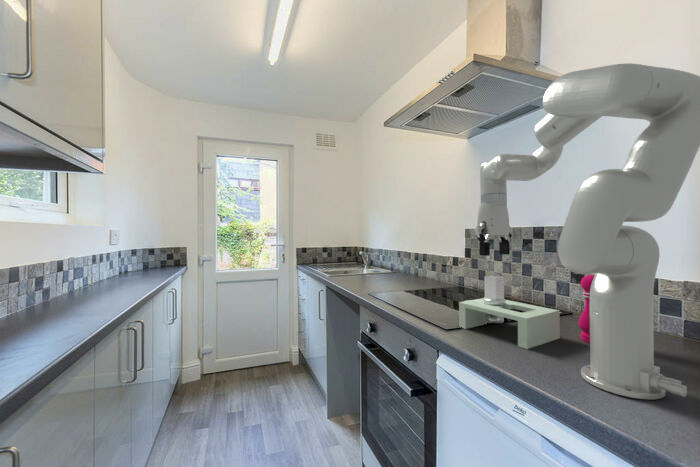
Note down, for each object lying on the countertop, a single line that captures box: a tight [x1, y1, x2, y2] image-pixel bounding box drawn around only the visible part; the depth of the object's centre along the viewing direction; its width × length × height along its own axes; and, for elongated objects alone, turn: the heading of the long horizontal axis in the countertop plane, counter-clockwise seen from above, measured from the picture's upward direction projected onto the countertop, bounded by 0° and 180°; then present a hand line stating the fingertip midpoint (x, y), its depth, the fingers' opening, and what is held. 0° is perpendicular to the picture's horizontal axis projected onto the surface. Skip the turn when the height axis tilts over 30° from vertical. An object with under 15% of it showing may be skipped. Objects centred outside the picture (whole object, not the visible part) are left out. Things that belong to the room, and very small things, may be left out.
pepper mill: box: [578, 275, 595, 344], centre depth 85 cm, size 7×7×20 cm
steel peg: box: [482, 275, 507, 324], centre depth 96 cm, size 6×6×14 cm
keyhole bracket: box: [458, 297, 561, 350], centre depth 93 cm, size 22×16×8 cm
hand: (494, 254), depth 96 cm, fingers open, 9 cm apart
